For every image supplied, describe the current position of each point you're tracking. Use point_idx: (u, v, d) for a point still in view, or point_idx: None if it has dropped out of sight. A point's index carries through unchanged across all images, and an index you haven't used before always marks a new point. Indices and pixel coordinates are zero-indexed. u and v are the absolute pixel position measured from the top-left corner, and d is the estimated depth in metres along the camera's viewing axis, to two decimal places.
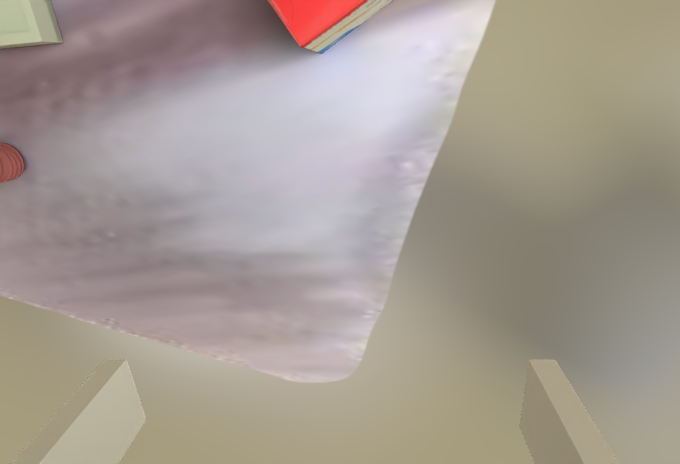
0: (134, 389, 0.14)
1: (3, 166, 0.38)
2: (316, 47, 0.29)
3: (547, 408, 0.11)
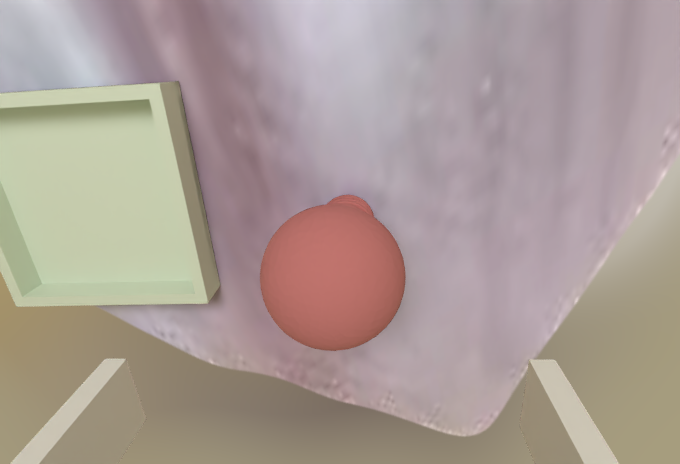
0: (134, 389, 0.14)
1: None
2: None
3: (547, 408, 0.11)
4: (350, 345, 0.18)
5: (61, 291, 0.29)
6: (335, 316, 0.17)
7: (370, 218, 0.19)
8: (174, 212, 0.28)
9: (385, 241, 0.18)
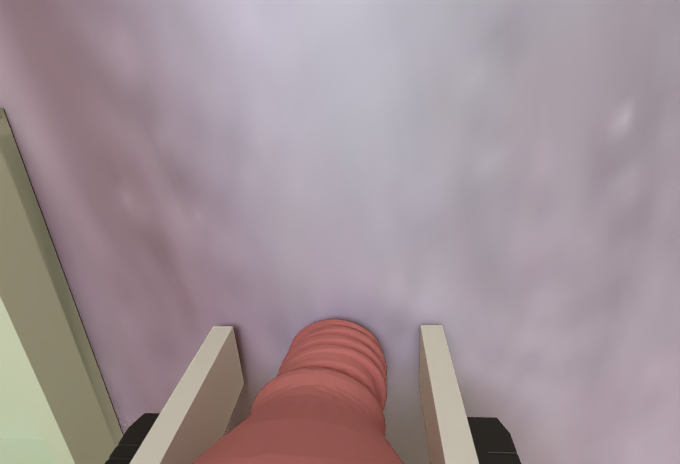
0: (237, 354, 0.15)
1: (331, 366, 0.12)
2: None
3: (425, 363, 0.13)
4: None
5: None
6: None
7: None
8: None
9: None
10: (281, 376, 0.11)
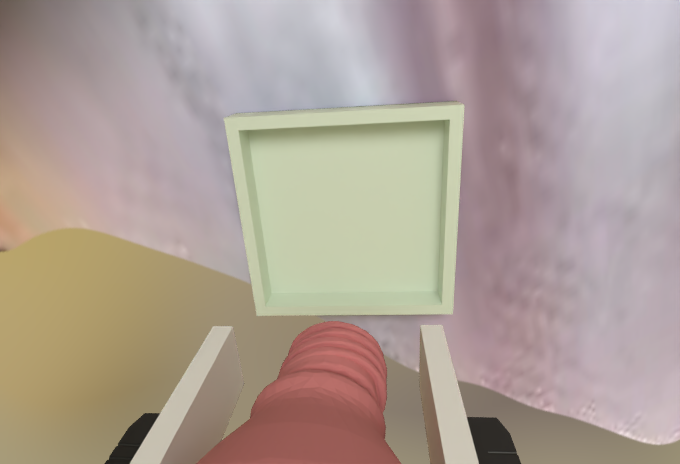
0: (237, 354, 0.15)
1: (331, 368, 0.12)
2: None
3: (425, 363, 0.13)
4: None
5: (300, 301, 0.30)
6: None
7: None
8: (424, 226, 0.29)
9: None
10: (281, 379, 0.11)
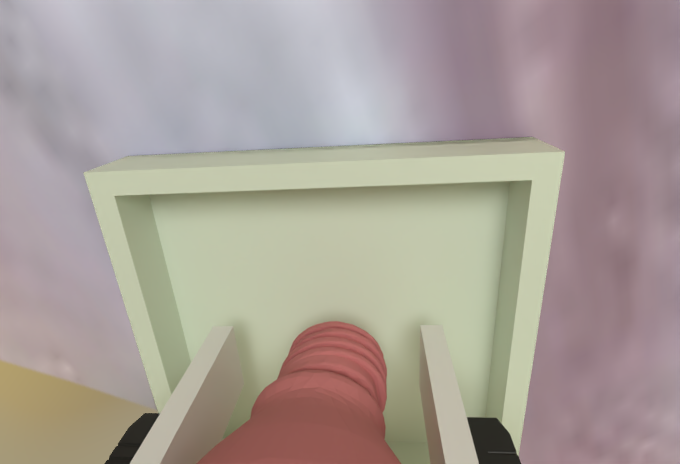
0: (237, 354, 0.15)
1: (331, 368, 0.12)
2: None
3: (425, 363, 0.13)
4: None
5: None
6: None
7: None
8: (464, 348, 0.16)
9: None
10: (281, 379, 0.11)
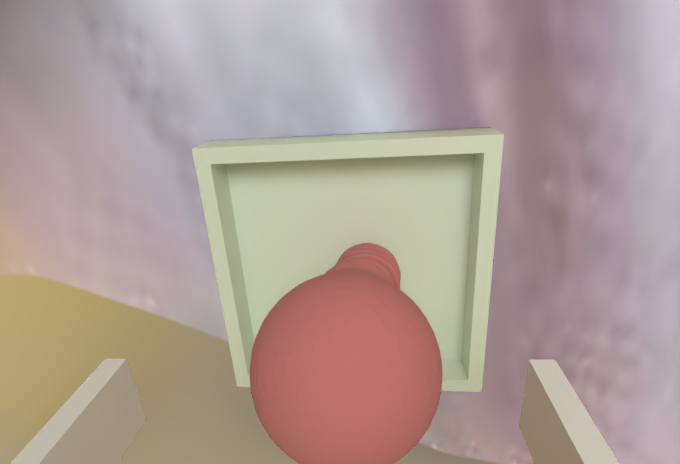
0: (134, 389, 0.14)
1: None
2: None
3: (547, 408, 0.11)
4: None
5: None
6: (346, 446, 0.12)
7: (396, 297, 0.14)
8: (446, 281, 0.23)
9: (417, 333, 0.13)
10: (336, 265, 0.19)
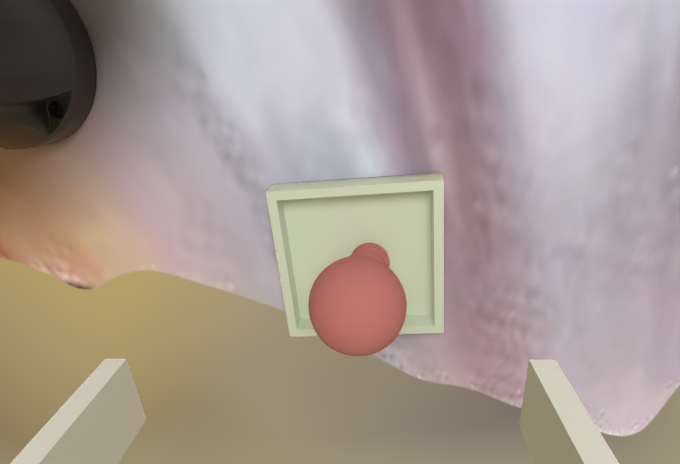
0: (134, 389, 0.14)
1: None
2: None
3: (547, 408, 0.11)
4: (368, 352, 0.27)
5: None
6: (357, 332, 0.26)
7: (381, 266, 0.28)
8: (419, 264, 0.37)
9: (391, 282, 0.27)
10: (351, 255, 0.33)
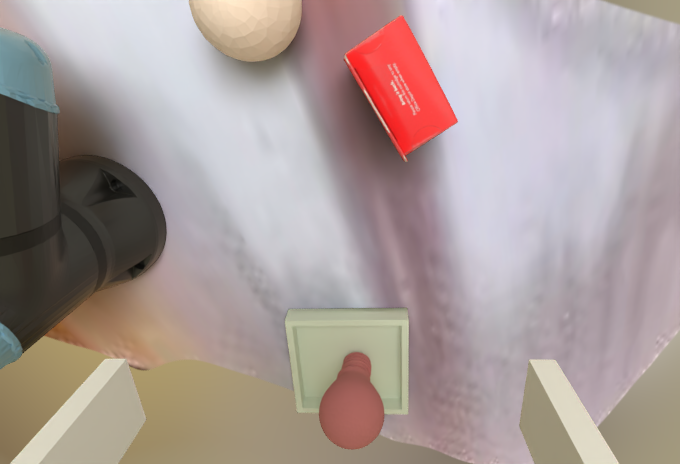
0: (134, 389, 0.14)
1: (356, 365, 0.48)
2: None
3: (547, 408, 0.11)
4: None
5: None
6: (354, 440, 0.40)
7: (368, 390, 0.43)
8: (391, 366, 0.52)
9: (375, 403, 0.42)
10: (345, 367, 0.48)
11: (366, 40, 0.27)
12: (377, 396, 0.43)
